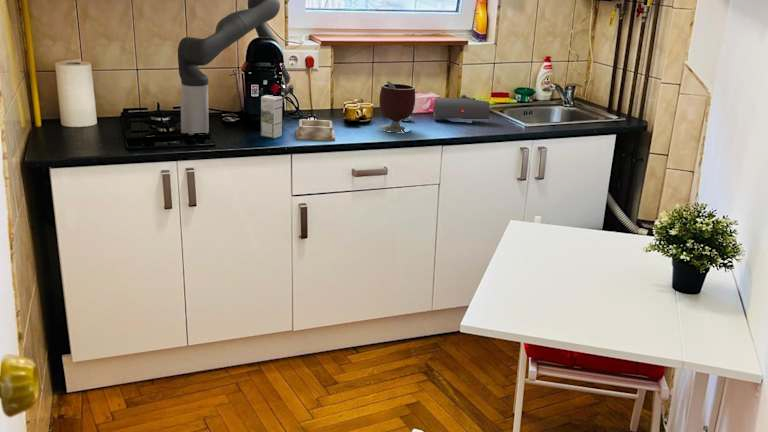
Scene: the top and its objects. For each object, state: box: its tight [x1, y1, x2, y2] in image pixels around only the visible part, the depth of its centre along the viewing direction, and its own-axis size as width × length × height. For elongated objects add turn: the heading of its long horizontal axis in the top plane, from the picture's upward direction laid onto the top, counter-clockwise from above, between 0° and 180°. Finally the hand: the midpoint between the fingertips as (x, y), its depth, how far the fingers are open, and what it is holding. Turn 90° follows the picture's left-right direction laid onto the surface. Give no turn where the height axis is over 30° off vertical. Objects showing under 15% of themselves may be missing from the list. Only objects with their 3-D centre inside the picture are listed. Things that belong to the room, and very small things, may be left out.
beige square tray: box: [295, 118, 336, 141], centre depth 284 cm, size 14×14×4 cm
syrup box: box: [260, 94, 283, 139], centre depth 276 cm, size 6×6×14 cm
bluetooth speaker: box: [433, 97, 491, 120], centre depth 324 cm, size 23×9×10 cm, turn 90°
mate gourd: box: [378, 80, 416, 132], centre depth 299 cm, size 16×14×20 cm
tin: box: [350, 98, 364, 104], centre depth 314 cm, size 15×3×8 cm, turn 168°
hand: (273, 92), depth 286 cm, fingers open, 8 cm apart
